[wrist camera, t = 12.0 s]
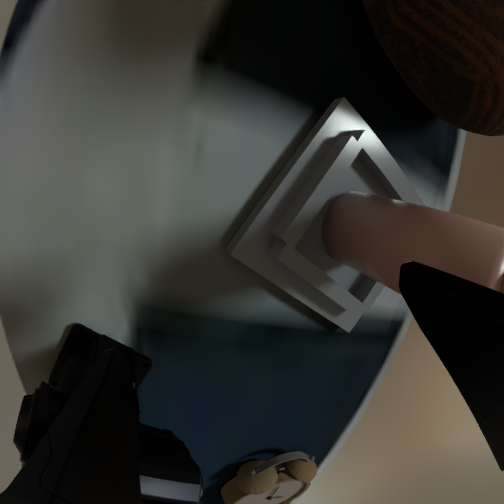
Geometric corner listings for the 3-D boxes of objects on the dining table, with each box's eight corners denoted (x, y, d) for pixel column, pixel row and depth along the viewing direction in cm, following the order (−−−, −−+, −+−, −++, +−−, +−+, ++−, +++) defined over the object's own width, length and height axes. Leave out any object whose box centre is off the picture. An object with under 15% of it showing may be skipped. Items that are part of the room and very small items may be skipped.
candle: (373, 257, 25) (518, 327, 12) (319, 266, 23) (480, 364, 10) (378, 190, 23) (543, 234, 10) (323, 191, 21) (516, 244, 8)
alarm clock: (219, 521, 28) (252, 488, 23) (210, 493, 32) (237, 449, 27) (291, 505, 33) (341, 463, 27) (280, 480, 37) (323, 433, 31)
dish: (341, 326, 27) (359, 340, 25) (224, 249, 21) (237, 262, 18) (417, 207, 27) (438, 212, 25) (334, 99, 20) (357, 94, 18)
